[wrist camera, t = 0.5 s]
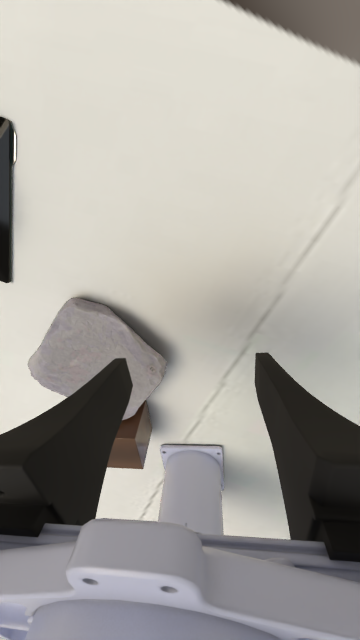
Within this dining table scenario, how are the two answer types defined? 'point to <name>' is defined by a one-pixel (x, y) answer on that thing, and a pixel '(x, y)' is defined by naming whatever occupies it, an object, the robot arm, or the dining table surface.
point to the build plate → (6, 196)
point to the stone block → (94, 352)
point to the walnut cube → (132, 441)
